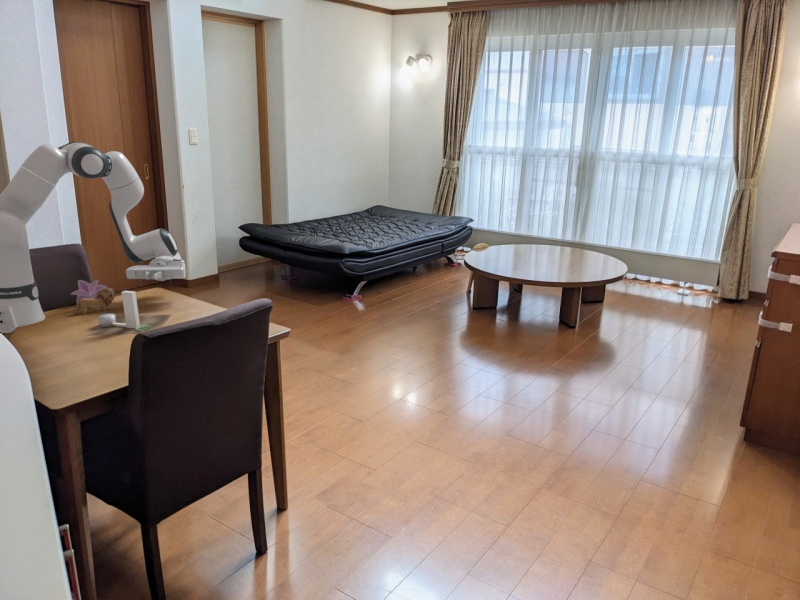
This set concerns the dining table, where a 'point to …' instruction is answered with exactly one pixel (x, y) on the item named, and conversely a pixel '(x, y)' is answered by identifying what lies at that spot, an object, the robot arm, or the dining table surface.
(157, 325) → the dial board
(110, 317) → the tuning peg
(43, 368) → the dining table surface
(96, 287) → the lily
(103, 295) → the lion figurine
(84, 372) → the dining table surface
